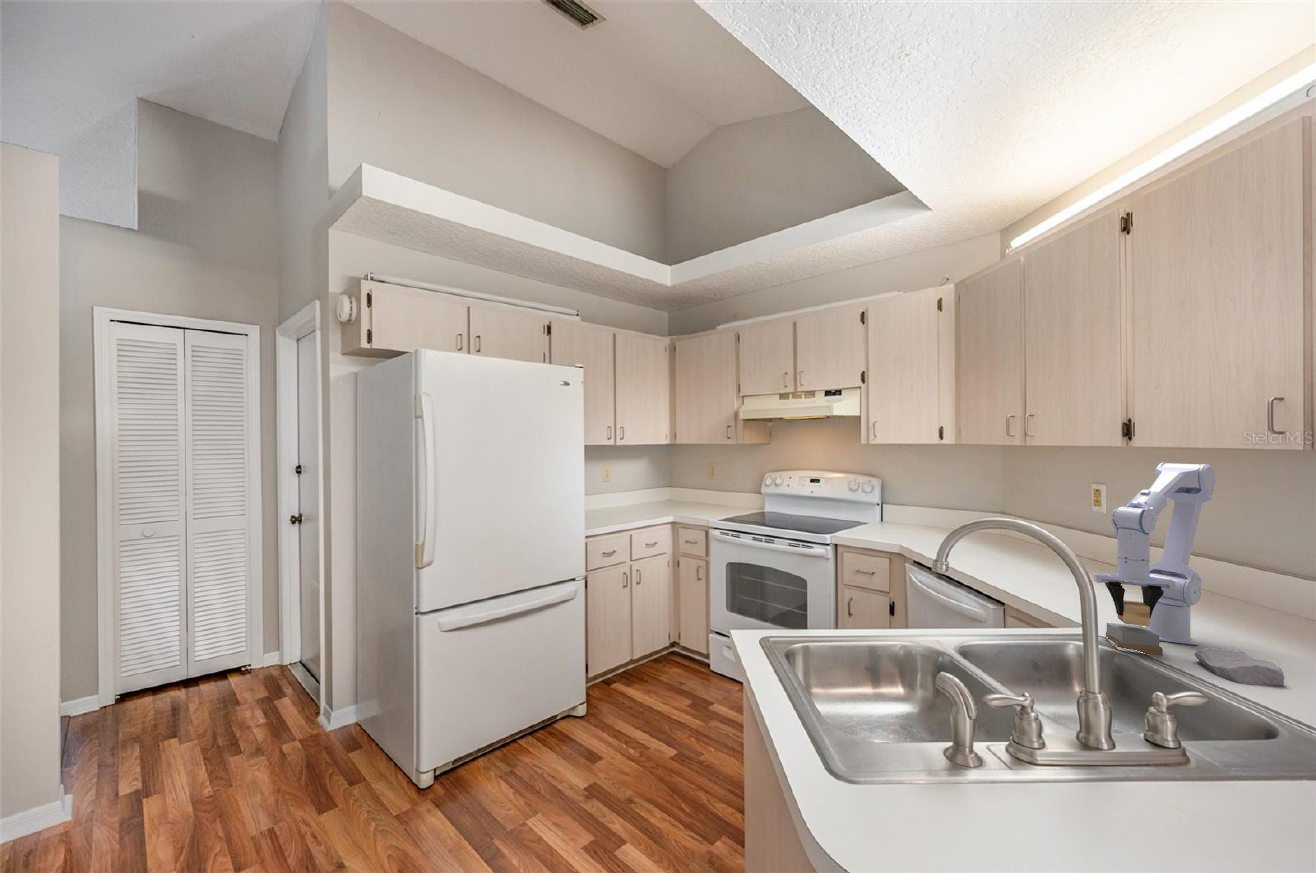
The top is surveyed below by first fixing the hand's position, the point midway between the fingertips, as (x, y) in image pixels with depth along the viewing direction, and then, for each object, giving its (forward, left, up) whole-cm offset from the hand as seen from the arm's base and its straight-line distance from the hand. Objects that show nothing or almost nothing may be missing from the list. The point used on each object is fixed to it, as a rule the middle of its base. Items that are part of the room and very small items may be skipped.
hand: (1133, 616), depth 126 cm
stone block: (+9, +14, -8) cm, 18 cm away
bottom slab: (0, 0, -8) cm, 8 cm away
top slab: (0, 0, -6) cm, 6 cm away
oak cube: (0, 0, -1) cm, 1 cm away
